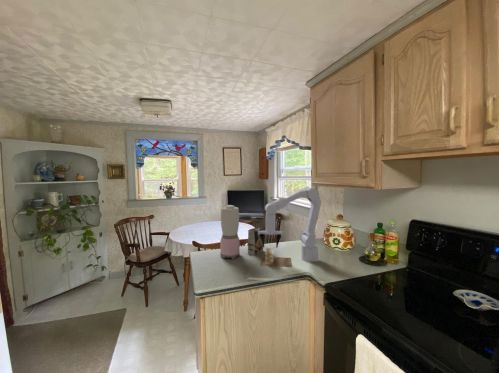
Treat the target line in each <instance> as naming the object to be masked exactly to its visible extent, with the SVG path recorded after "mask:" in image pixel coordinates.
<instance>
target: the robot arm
mask: <svg viewBox="0 0 499 373" xmlns="http://www.w3.org/2000/svg"><path fill="white" fill-rule="evenodd" d="M300 198H301V199H307V200H308V201H309V203H310V209H309V213H308V217H307V222H306V226H305V229H304V230H303V232H302V234H301V235H300V242H301V260H302V261H304V262H319V248H318V246H316V245H317V239H316V236H317V235H316V227H317V223H318V218H319V215H320V209H321V206H322V201H321V197H320V192H319V191H318V189H317V188H312V187H307V186H306V187H304V188H301V189H298V191H295V192H294V193H292V194H290V195H289V196H286V197H283V196H282V197H278V199H276V200H275V201H271V203H270V202H269V203H267V204H266V205H265V206H264V210H265V229H263V231H258V235H260V238H261V240H262V243H263V248H265V236H266V235H267V236H270V235H271V236H276V244H275V248H276V249H277V248H278V246H279V242H280V241H281V238H282V236H284V231H282V230H276V213H277V212H278V211H280V210H282V209H284V208H286V207H287V206H288V205H289V203H291V202H294V201H295V200H298V199H300Z"/></svg>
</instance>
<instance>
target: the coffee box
mask: <svg viewBox="0 0 499 373" xmlns="http://www.w3.org/2000/svg"><path fill="white" fill-rule="evenodd" d="M258 231H264V228H262V227H254V228H249V229H248V230H247V232H248V233H247V254H248V255H250V256H252V255H255V256H256V255H259V254H260V253H262V252H264V247H263V243H262V240H261V238H260V235H258Z"/></svg>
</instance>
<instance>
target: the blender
mask: <svg viewBox="0 0 499 373" xmlns="http://www.w3.org/2000/svg"><path fill="white" fill-rule="evenodd" d="M239 209H240V208H239V207H236V206H235V205H232V204H228V205H225V206H224V207H221V209H220V226H221V232H222V234H221V238H220V243H219V244H220V245H219V246H220V248H219V249H220V250H219V251H220V257H221V258H222V259H223V260H224V259H226V258H231V260H235V259H236V257H239V256H240V253H241V252H240V237H239V235H238V234H239V233H238V232H239V227H240V210H239Z"/></svg>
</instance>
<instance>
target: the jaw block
mask: <svg viewBox="0 0 499 373" xmlns="http://www.w3.org/2000/svg"><path fill="white" fill-rule="evenodd" d="M264 257H265V264H271V265H273V257H274V248H267V247H266V248H265V254H264Z"/></svg>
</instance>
